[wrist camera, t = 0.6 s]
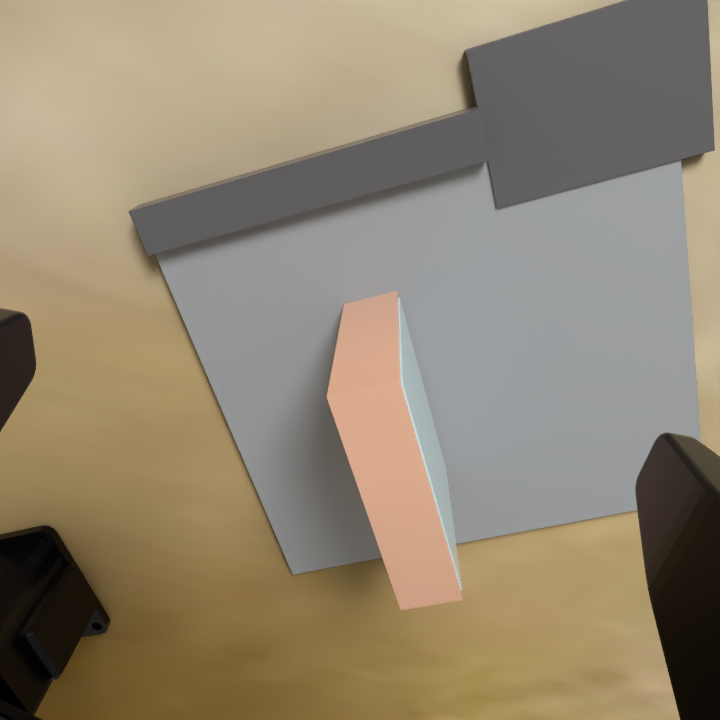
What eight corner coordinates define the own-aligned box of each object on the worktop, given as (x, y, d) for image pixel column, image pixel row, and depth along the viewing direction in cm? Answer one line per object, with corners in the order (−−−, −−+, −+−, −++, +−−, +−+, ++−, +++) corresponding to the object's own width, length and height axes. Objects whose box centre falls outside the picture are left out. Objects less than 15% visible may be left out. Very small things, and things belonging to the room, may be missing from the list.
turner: (175, 290, 24) (167, 300, 23) (118, 156, 22) (106, 161, 21) (707, 148, 21) (722, 152, 20) (698, -23, 19) (714, -26, 18)
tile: (398, 478, 27) (400, 610, 20) (343, 304, 23) (326, 397, 17) (446, 468, 26) (464, 599, 20) (398, 290, 23) (401, 380, 17)
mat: (293, 568, 30) (292, 574, 29) (154, 240, 23) (150, 242, 23) (700, 491, 27) (704, 497, 26) (671, 93, 20) (676, 94, 20)
